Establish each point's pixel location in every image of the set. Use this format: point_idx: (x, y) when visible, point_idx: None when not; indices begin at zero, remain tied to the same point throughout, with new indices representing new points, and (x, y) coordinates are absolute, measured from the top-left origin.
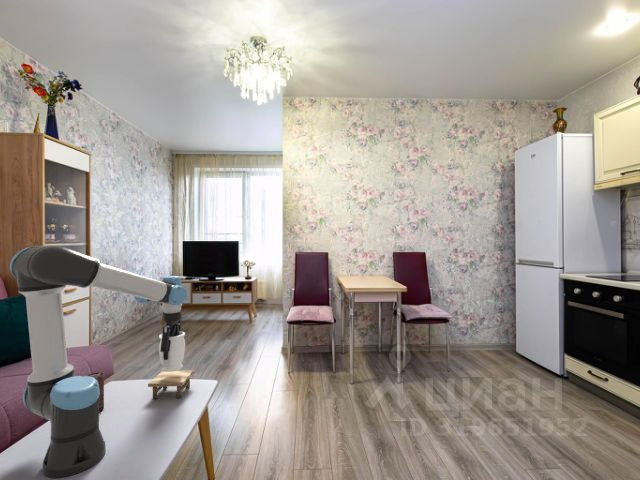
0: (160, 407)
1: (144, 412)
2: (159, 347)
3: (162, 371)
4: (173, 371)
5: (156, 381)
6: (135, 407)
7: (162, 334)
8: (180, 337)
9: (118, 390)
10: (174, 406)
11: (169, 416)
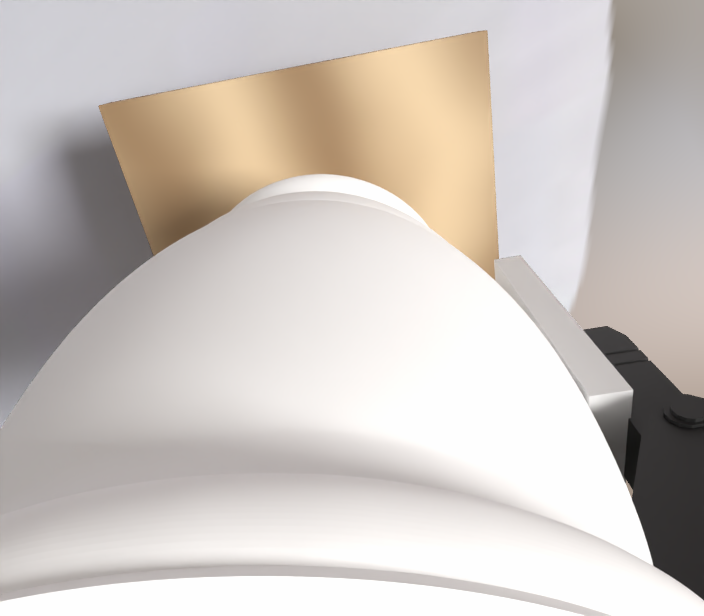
0: (103, 255)
1: (3, 187)
2: (31, 382)
3: (468, 42)
4: (468, 187)
5: (183, 160)
6: (33, 55)
7: (351, 553)
8: None
9: None
10: None
11: (32, 371)
